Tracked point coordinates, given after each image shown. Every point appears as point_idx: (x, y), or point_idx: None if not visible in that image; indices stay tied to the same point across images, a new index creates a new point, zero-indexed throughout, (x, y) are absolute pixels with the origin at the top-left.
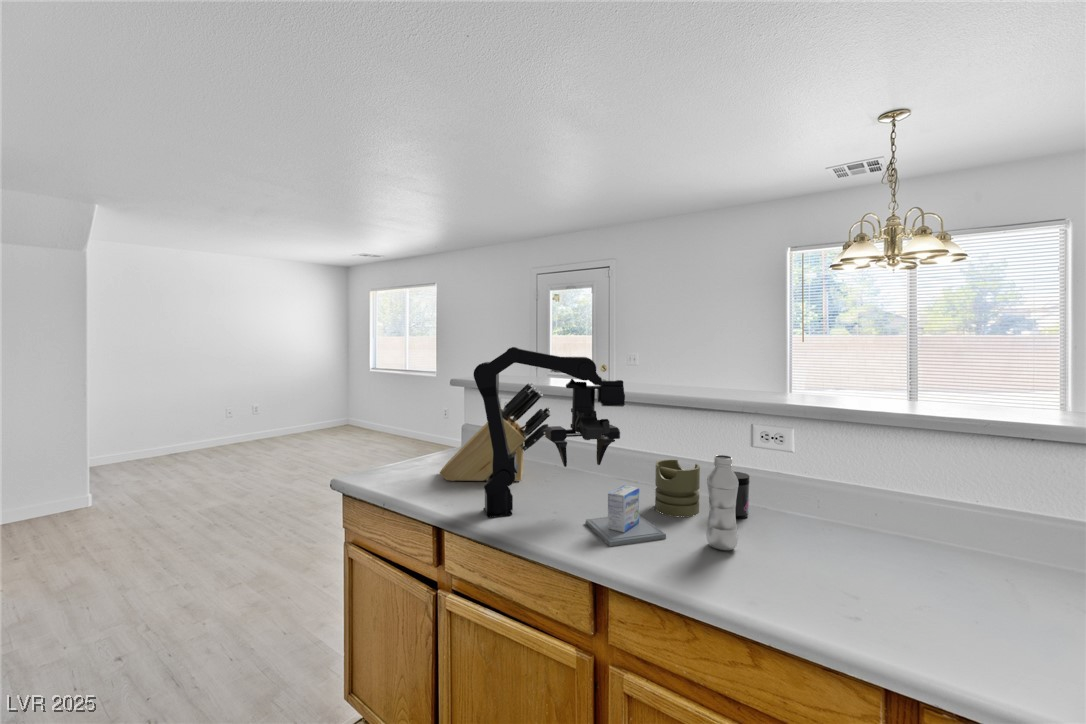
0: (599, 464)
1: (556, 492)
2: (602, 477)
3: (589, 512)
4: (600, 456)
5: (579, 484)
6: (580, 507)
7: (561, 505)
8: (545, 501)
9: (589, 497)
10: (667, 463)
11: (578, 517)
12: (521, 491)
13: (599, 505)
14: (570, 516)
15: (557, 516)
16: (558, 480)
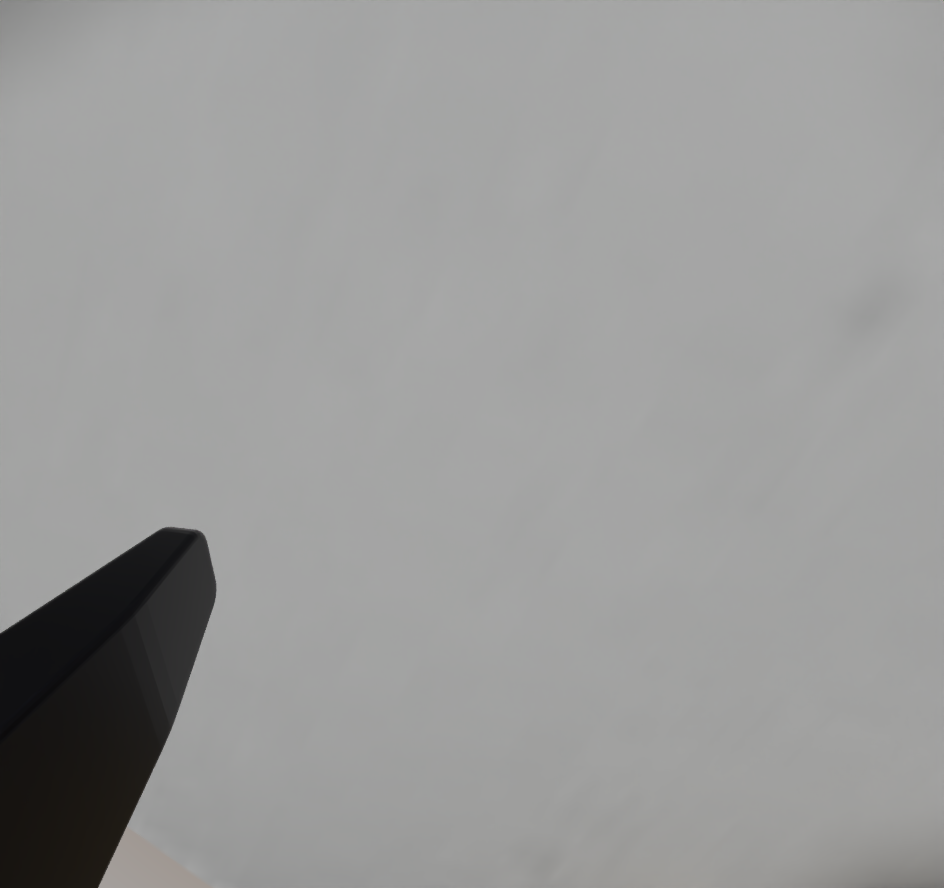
0: (174, 531)
1: (578, 696)
2: None
3: (512, 184)
4: (40, 677)
5: (337, 754)
6: (540, 349)
7: (694, 455)
8: (777, 579)
9: (355, 531)
10: None
11: (712, 72)
12: (827, 789)
13: (331, 333)
14: (784, 138)
15: (924, 191)
16: (457, 844)
